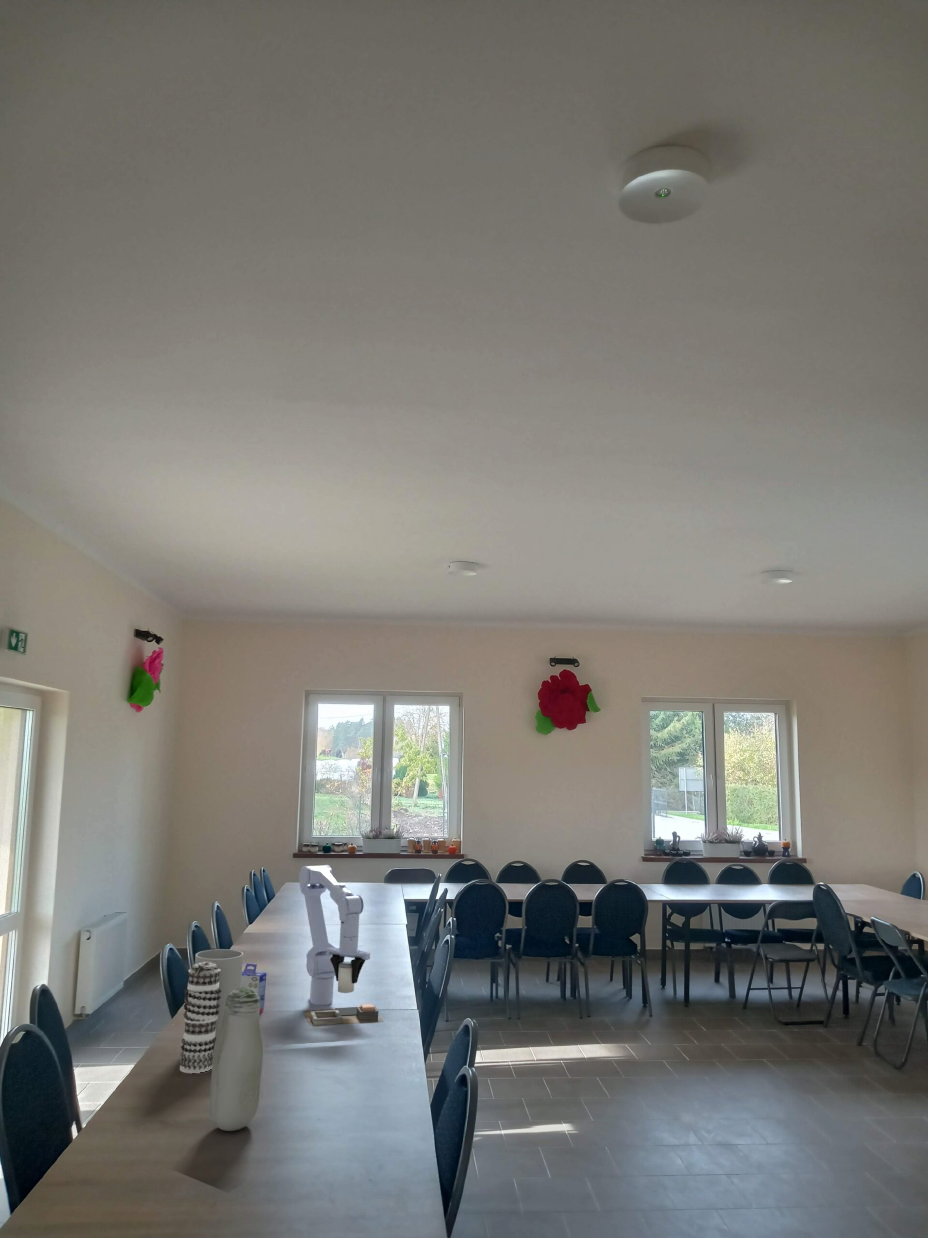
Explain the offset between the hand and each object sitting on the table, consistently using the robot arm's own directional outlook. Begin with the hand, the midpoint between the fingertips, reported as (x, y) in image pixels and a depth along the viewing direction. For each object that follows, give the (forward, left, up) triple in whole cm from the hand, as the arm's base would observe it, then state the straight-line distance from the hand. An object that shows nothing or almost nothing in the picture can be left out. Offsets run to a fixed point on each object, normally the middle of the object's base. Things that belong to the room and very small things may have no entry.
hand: (346, 981), depth 265 cm
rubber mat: (-2, +2, -9) cm, 10 cm away
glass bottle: (+75, -37, -11) cm, 85 cm away
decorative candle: (+36, -44, -11) cm, 58 cm away
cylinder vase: (+25, -40, -11) cm, 49 cm away
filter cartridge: (0, 0, -3) cm, 3 cm away
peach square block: (+6, +6, -9) cm, 12 cm away
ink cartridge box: (-9, -29, -11) cm, 32 cm away
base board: (+2, -1, -10) cm, 11 cm away
